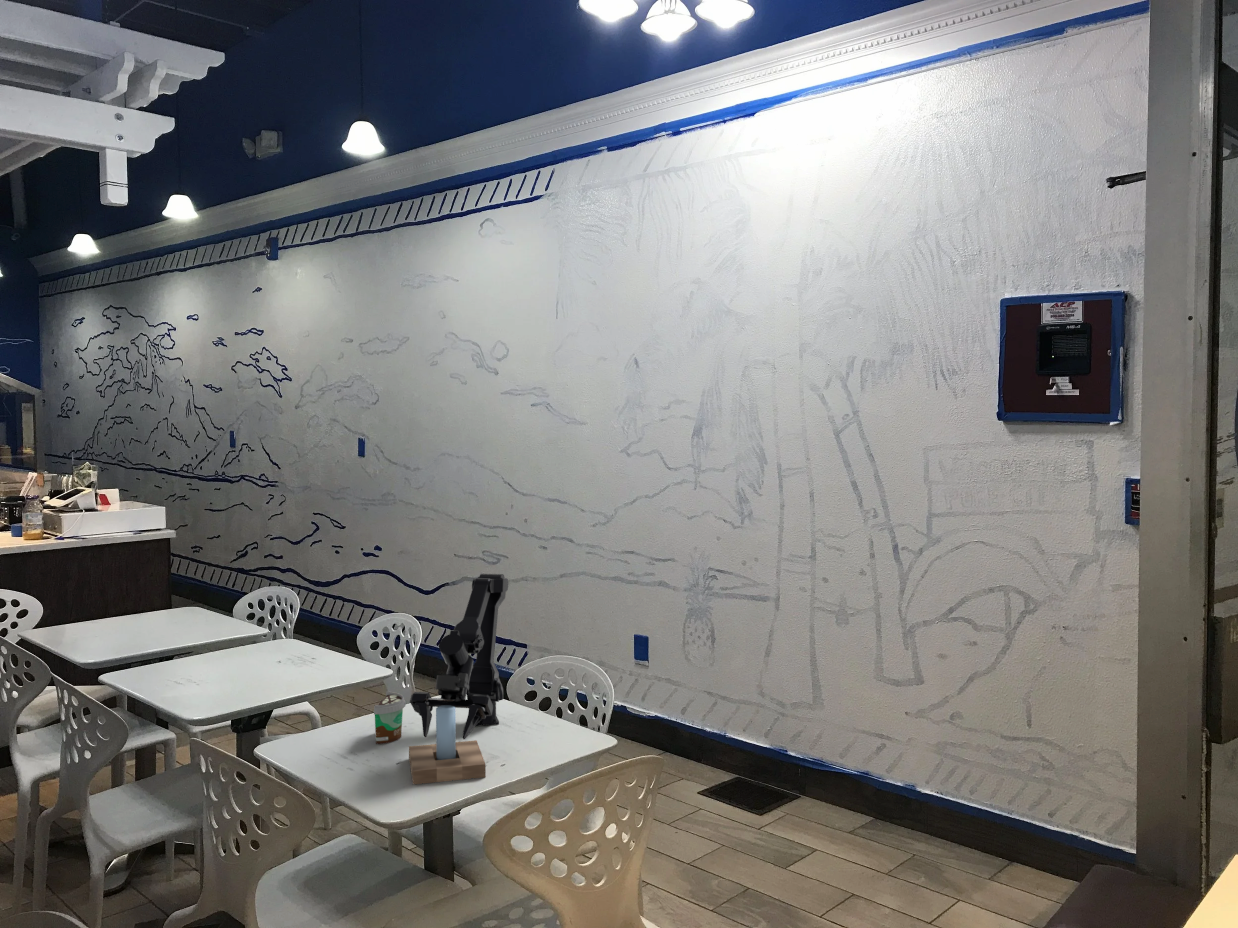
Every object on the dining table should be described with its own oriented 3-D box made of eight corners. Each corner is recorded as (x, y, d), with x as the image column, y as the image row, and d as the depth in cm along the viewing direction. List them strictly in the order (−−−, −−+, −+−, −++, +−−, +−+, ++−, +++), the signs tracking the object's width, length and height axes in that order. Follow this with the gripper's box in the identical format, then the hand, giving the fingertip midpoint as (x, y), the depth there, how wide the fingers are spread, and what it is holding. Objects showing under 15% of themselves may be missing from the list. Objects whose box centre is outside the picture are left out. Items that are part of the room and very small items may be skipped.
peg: (435, 765, 224) (435, 706, 223) (454, 763, 225) (454, 704, 224) (437, 772, 220) (436, 711, 219) (456, 770, 221) (456, 710, 220)
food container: (399, 746, 236) (398, 706, 236) (374, 745, 236) (373, 705, 236) (411, 729, 249) (410, 691, 248) (387, 729, 249) (386, 691, 248)
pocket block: (408, 758, 228) (408, 746, 228) (476, 752, 232) (476, 740, 232) (413, 784, 212) (412, 770, 212) (485, 776, 217) (485, 763, 217)
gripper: (412, 657, 226) (395, 719, 216) (489, 660, 223) (476, 723, 213) (423, 681, 234) (408, 741, 224) (498, 684, 232) (486, 745, 222)
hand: (444, 737), depth 220 cm, fingers open, 9 cm apart
